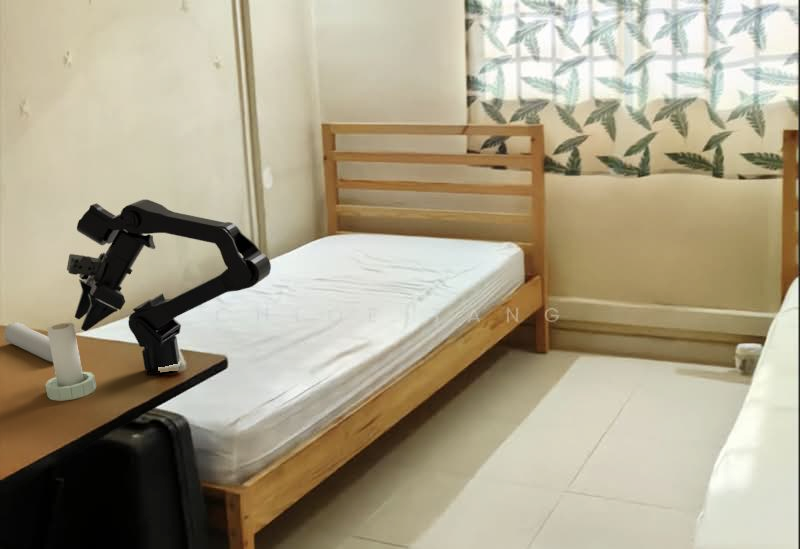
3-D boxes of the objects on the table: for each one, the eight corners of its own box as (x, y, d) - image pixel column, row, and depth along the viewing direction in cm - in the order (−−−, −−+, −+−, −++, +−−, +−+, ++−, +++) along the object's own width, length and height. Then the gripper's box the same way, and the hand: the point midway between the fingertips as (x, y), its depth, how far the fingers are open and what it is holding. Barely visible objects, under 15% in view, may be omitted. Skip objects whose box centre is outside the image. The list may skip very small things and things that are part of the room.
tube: (74, 342, 214) (27, 322, 232) (50, 341, 210) (5, 321, 228) (71, 366, 214) (24, 344, 232) (47, 366, 211) (2, 343, 229)
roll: (90, 385, 196) (78, 322, 193) (74, 394, 192) (63, 330, 188) (69, 384, 198) (57, 321, 195) (53, 393, 193) (41, 330, 190)
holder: (99, 381, 200) (97, 369, 199) (90, 397, 191) (87, 385, 190) (54, 386, 199) (52, 374, 198) (42, 402, 190) (40, 390, 190)
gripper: (77, 229, 202) (37, 295, 202) (91, 246, 186) (48, 318, 185) (125, 255, 207) (86, 319, 207) (143, 274, 191) (101, 343, 190)
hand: (80, 324), depth 197 cm, fingers open, 9 cm apart
